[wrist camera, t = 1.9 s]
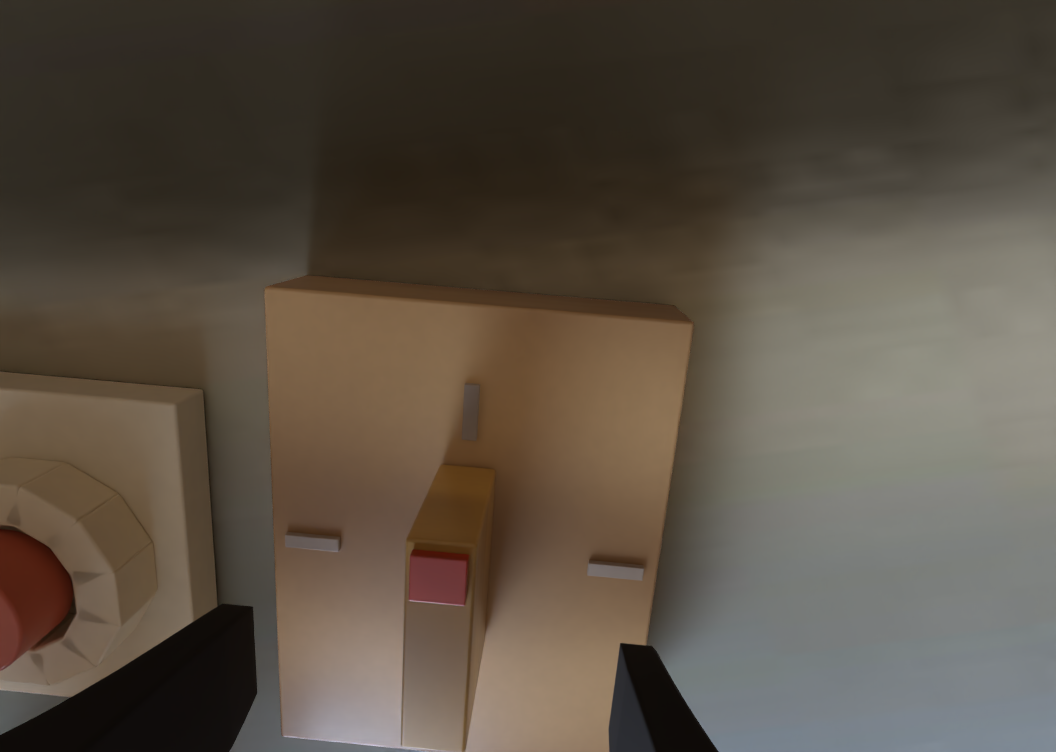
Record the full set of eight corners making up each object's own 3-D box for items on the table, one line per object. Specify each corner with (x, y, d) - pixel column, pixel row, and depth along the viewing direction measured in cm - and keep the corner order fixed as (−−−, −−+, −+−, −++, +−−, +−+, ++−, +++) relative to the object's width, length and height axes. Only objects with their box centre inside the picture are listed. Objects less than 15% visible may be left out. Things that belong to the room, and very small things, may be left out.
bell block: (223, 678, 21) (168, 755, 18) (-13, 654, 21) (-106, 727, 18) (204, 388, 18) (135, 424, 15) (-67, 364, 18) (-186, 395, 15)
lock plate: (620, 705, 20) (628, 778, 17) (313, 674, 20) (277, 742, 18) (676, 305, 17) (697, 323, 14) (304, 274, 17) (259, 286, 14)
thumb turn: (484, 640, 17) (463, 765, 13) (433, 635, 17) (396, 758, 13) (496, 468, 15) (476, 552, 12) (439, 462, 15) (401, 545, 12)
